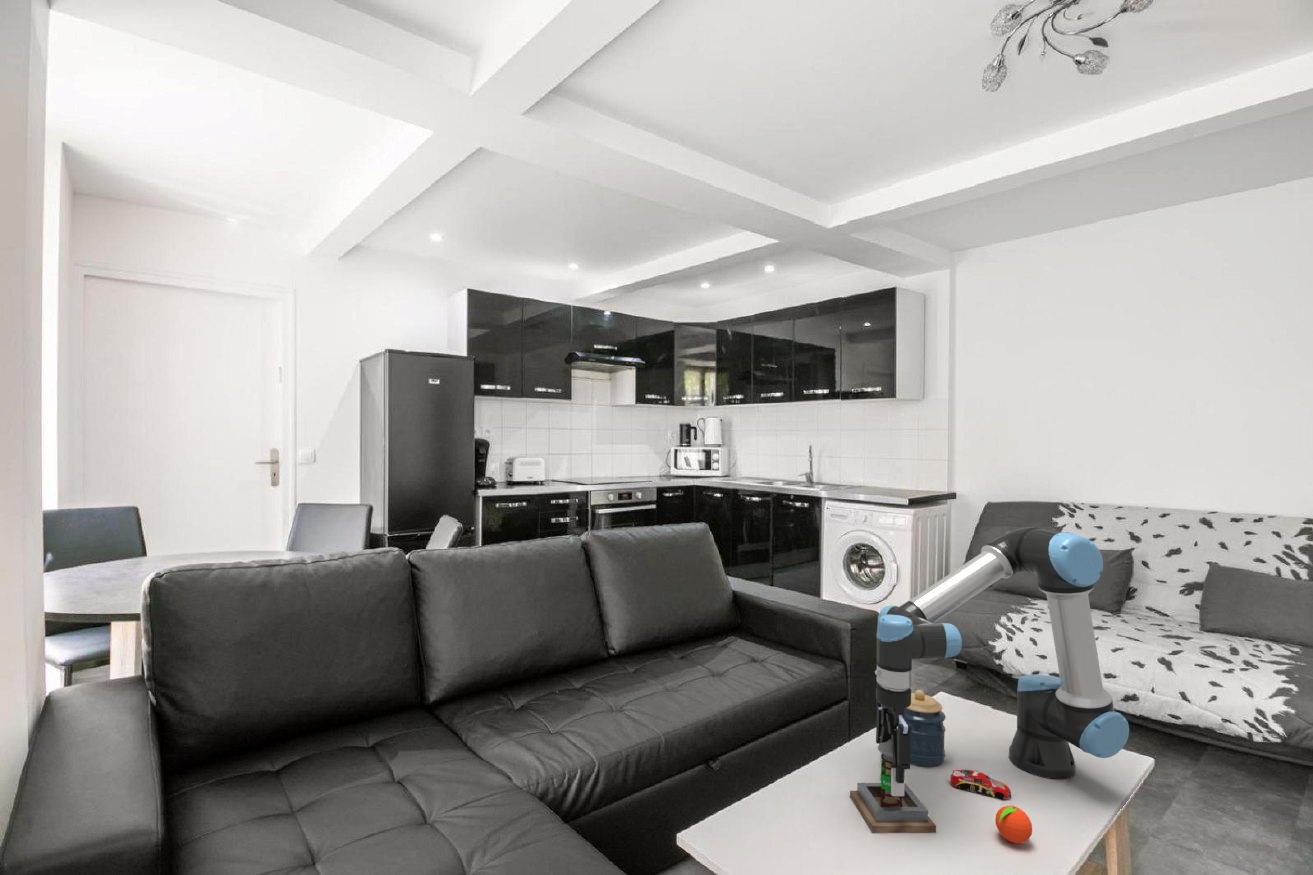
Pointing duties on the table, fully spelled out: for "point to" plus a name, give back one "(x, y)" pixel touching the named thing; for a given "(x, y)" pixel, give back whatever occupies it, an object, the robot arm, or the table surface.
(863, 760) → the table surface
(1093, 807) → the table surface
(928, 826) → the plate
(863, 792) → the socket collar
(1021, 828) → the clementine
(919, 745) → the canister
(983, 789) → the race car
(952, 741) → the table surface
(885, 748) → the shock absorber
